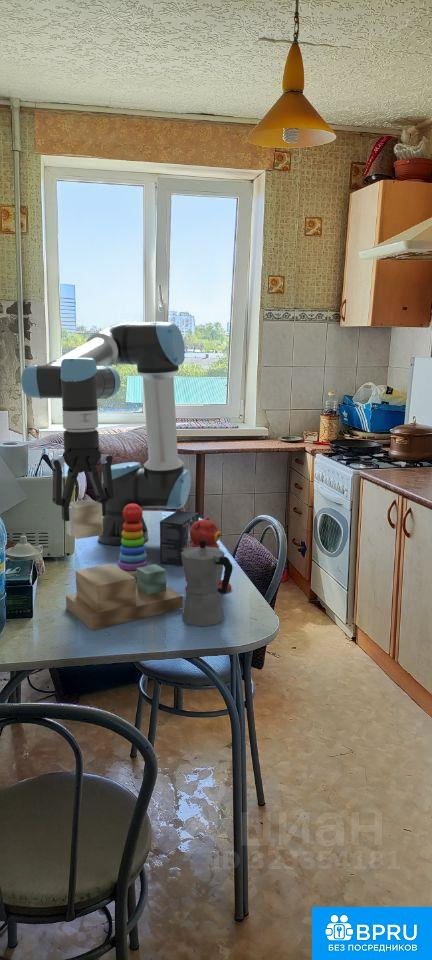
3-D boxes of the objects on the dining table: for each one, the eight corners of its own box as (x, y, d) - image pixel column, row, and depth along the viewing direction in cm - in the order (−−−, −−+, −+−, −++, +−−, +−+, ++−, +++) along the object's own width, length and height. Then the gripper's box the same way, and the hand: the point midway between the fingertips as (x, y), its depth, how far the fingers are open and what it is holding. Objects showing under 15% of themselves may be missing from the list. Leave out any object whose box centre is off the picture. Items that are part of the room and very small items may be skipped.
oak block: (92, 529, 160) (91, 499, 158) (102, 535, 154) (101, 504, 153) (67, 532, 157) (66, 502, 155) (76, 539, 151) (75, 507, 150)
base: (152, 588, 170) (151, 553, 168) (183, 608, 158) (182, 570, 156) (66, 607, 158) (64, 570, 156) (92, 630, 146) (90, 589, 144)
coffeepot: (167, 615, 154) (165, 537, 150) (199, 604, 160) (198, 529, 156) (215, 636, 142) (214, 552, 139) (247, 624, 149) (247, 543, 145)
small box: (182, 566, 187) (182, 523, 184) (159, 564, 189) (158, 521, 187) (199, 552, 199) (199, 511, 197) (177, 550, 201) (176, 510, 199)
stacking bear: (210, 602, 161) (210, 528, 158) (175, 594, 166) (173, 522, 163) (234, 588, 170) (234, 517, 167) (200, 581, 175) (199, 512, 172)
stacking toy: (143, 580, 176) (141, 508, 172) (113, 578, 178) (110, 507, 174) (152, 570, 184) (150, 501, 180) (123, 568, 185) (121, 500, 182)
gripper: (43, 434, 143) (48, 542, 147) (128, 428, 153) (130, 530, 157) (32, 430, 149) (38, 534, 154) (114, 425, 159) (117, 523, 163)
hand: (84, 532), depth 155 cm, fingers closed on oak block, 6 cm apart
